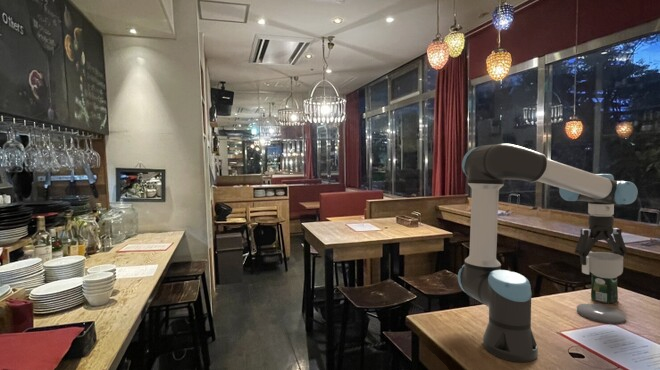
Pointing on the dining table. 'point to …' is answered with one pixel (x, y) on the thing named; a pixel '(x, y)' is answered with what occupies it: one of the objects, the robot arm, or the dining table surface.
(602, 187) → the robot arm
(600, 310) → the charcoal plate
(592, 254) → the teacup
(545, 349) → the dining table surface
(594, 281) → the coffee jar
